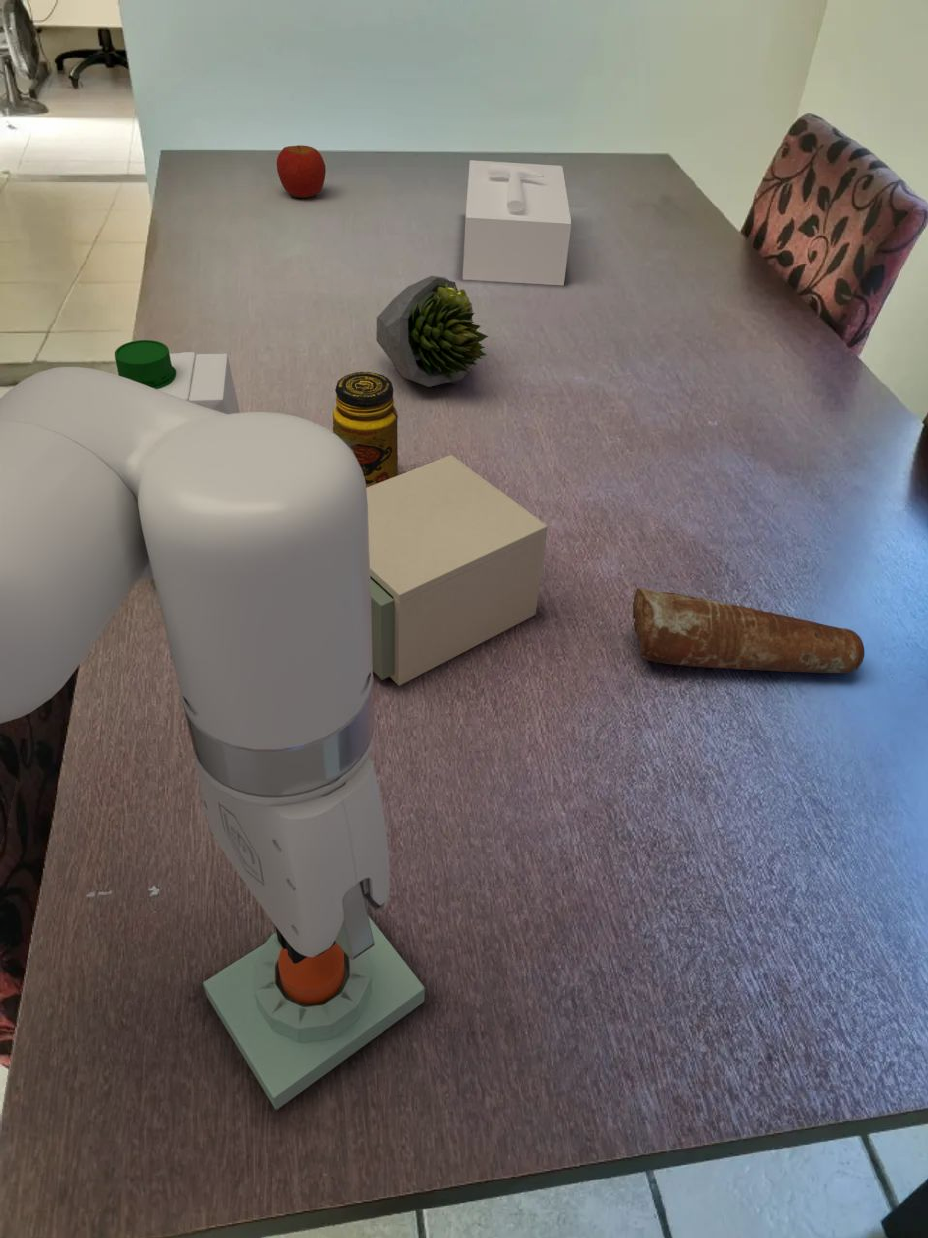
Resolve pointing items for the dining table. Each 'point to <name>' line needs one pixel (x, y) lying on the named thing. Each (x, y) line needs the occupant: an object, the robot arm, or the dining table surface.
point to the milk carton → (180, 374)
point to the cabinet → (451, 561)
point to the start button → (312, 975)
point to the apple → (301, 170)
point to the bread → (738, 637)
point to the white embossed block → (516, 223)
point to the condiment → (368, 423)
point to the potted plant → (430, 332)
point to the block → (309, 1014)
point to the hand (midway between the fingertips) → (311, 938)
